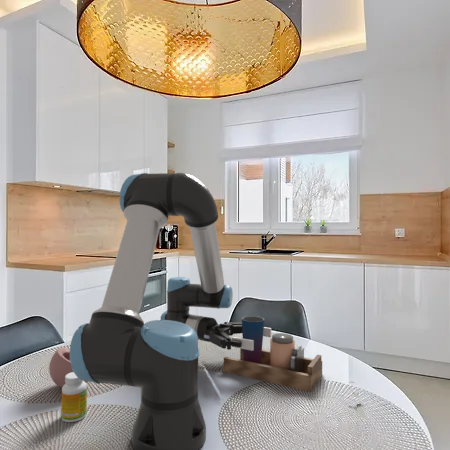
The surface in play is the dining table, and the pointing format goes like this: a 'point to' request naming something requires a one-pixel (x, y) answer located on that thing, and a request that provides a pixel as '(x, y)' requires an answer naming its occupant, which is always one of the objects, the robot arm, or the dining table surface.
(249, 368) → the wooden tray
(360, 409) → the spoon
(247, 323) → the cup
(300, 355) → the pusher
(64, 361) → the pink round piece
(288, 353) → the jar
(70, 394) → the supplement bottle
